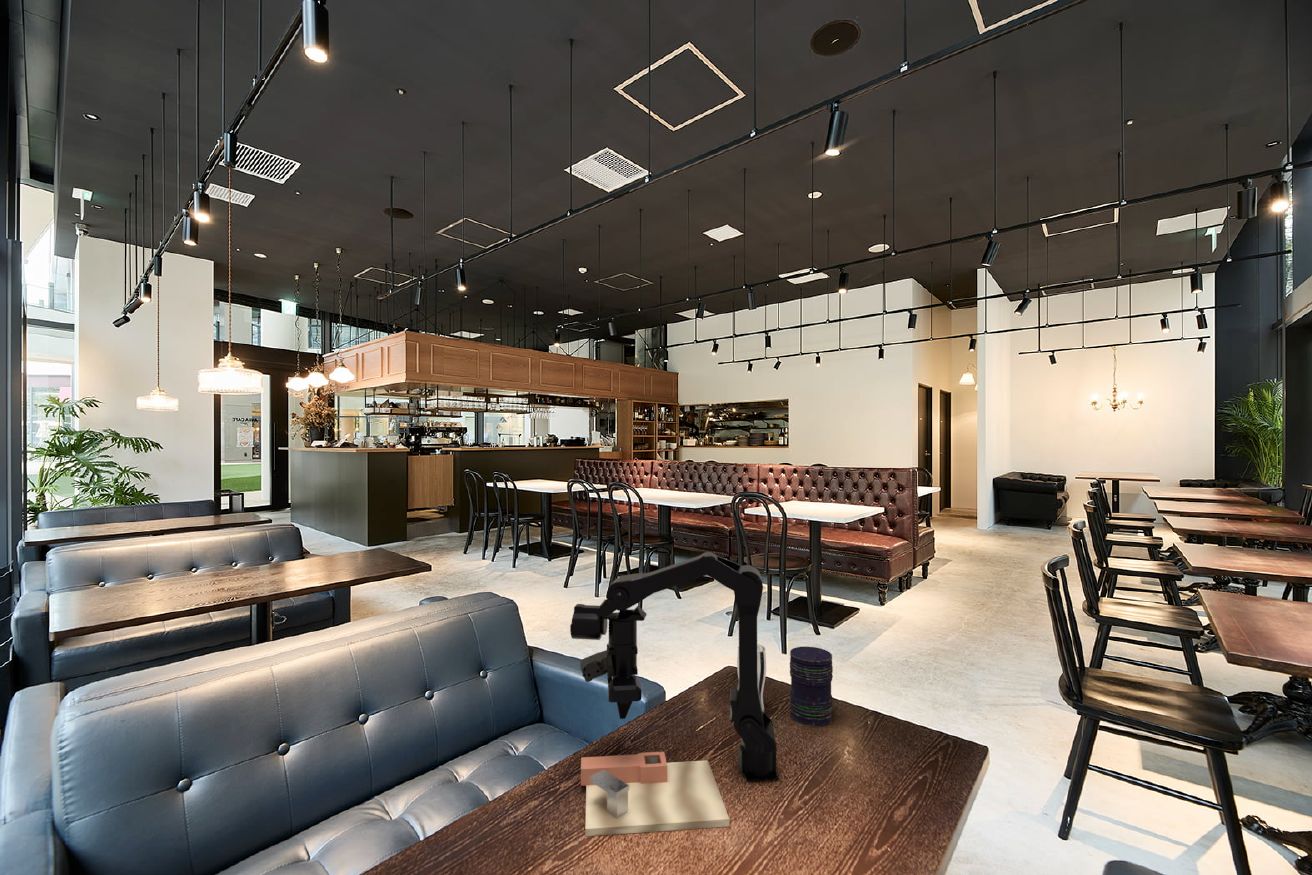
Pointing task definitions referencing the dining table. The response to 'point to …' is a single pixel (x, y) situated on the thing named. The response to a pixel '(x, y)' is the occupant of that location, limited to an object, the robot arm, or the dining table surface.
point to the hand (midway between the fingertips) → (622, 717)
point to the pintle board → (661, 803)
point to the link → (626, 768)
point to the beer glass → (759, 670)
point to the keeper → (613, 792)
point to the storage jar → (811, 686)
